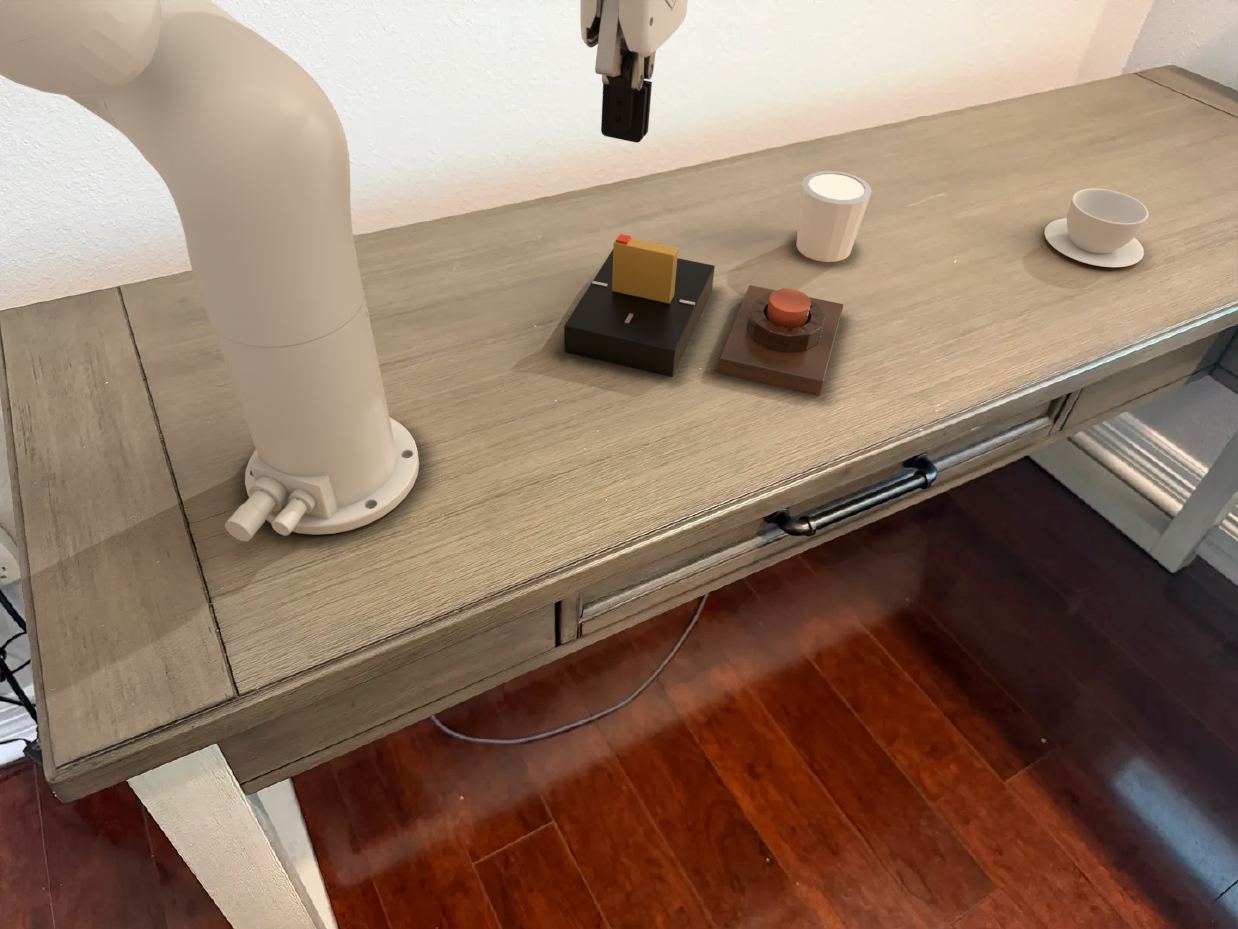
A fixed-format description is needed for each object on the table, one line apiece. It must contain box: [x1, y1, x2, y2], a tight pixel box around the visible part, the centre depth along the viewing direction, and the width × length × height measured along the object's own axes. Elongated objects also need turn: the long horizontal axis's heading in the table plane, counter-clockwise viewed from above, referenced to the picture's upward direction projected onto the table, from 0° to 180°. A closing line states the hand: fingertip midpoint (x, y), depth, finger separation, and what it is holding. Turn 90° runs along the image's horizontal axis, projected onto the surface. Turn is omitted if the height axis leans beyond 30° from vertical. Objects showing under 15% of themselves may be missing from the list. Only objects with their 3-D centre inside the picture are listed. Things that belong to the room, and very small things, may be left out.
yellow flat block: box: [612, 233, 679, 304], centre depth 79 cm, size 6×1×5 cm, turn 71°
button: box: [767, 288, 811, 328], centre depth 78 cm, size 4×4×2 cm
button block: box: [717, 284, 844, 396], centre depth 80 cm, size 12×9×4 cm
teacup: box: [1044, 187, 1149, 268], centre depth 93 cm, size 10×10×5 cm
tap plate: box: [563, 249, 716, 378], centre depth 82 cm, size 14×10×3 cm
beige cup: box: [795, 170, 872, 263], centre depth 90 cm, size 7×7×7 cm
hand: (624, 134), depth 67 cm, fingers closed
